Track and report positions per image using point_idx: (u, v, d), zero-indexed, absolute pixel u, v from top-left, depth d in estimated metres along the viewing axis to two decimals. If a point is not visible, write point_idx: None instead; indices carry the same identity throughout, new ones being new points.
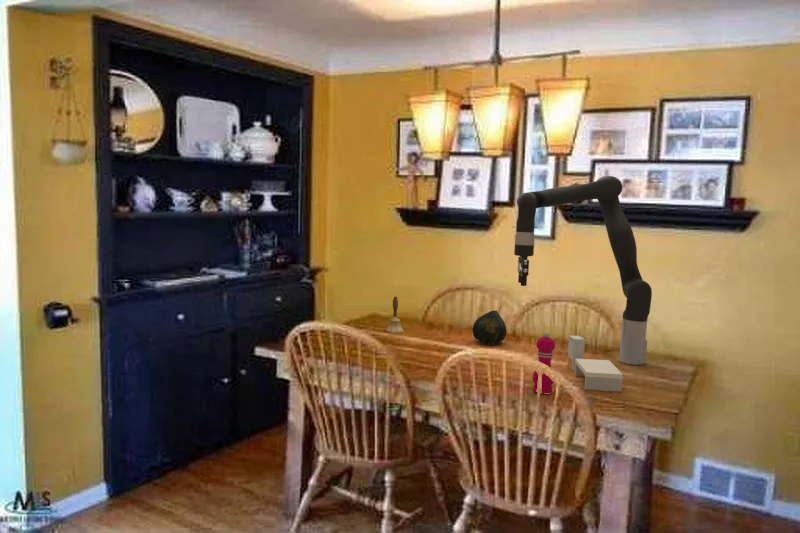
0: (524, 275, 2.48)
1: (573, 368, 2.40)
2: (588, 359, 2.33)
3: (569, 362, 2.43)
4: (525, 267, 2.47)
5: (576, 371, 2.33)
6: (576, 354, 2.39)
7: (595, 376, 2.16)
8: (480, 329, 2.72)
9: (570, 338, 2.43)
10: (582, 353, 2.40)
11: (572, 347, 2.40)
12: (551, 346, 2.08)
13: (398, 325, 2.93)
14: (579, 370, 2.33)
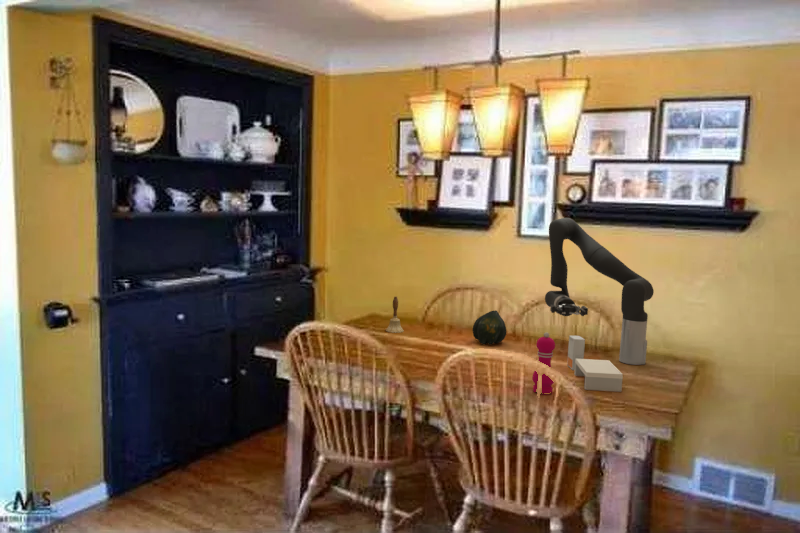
0: (554, 310, 2.57)
1: (573, 368, 2.40)
2: (588, 359, 2.33)
3: (569, 362, 2.43)
4: (551, 308, 2.60)
5: (576, 371, 2.33)
6: (576, 354, 2.39)
7: (595, 376, 2.16)
8: (480, 329, 2.72)
9: (570, 338, 2.43)
10: (582, 353, 2.40)
11: (572, 347, 2.40)
12: (551, 346, 2.08)
13: (398, 325, 2.93)
14: (579, 370, 2.33)
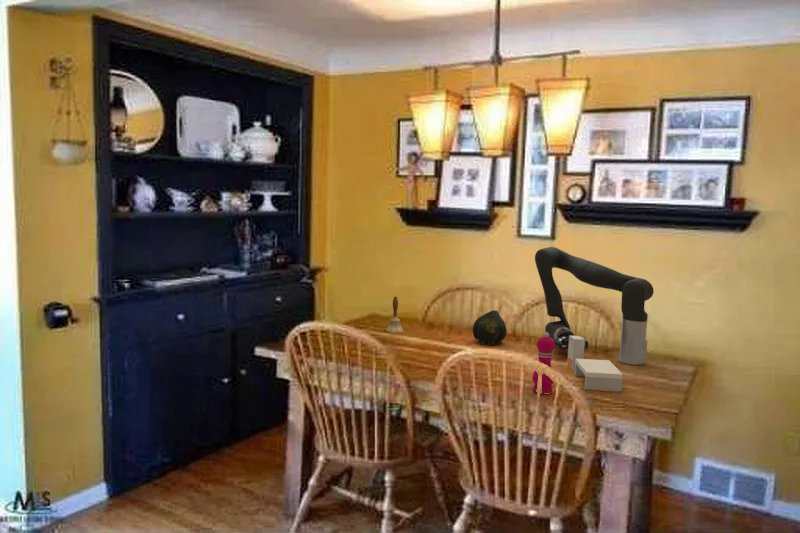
0: None
1: (573, 368, 2.40)
2: (588, 359, 2.33)
3: (569, 362, 2.43)
4: None
5: (576, 371, 2.33)
6: (576, 354, 2.39)
7: (595, 376, 2.16)
8: (480, 329, 2.72)
9: (570, 338, 2.43)
10: (582, 353, 2.40)
11: (572, 347, 2.40)
12: (551, 346, 2.08)
13: (398, 325, 2.93)
14: (579, 370, 2.33)
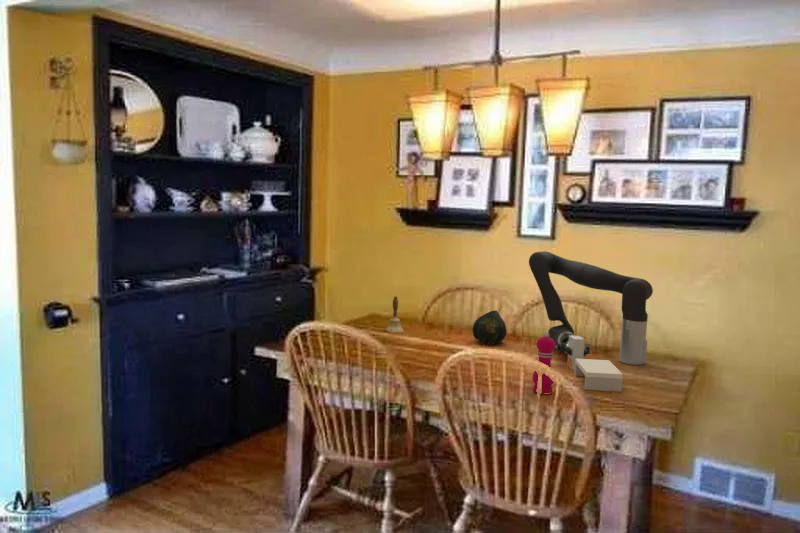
0: (562, 349, 2.44)
1: (573, 368, 2.40)
2: (588, 359, 2.33)
3: (569, 362, 2.43)
4: (557, 347, 2.47)
5: (576, 371, 2.33)
6: (576, 354, 2.39)
7: (595, 376, 2.16)
8: (480, 329, 2.72)
9: (570, 338, 2.43)
10: (582, 353, 2.40)
11: (572, 347, 2.40)
12: (551, 346, 2.08)
13: (398, 325, 2.93)
14: (579, 370, 2.33)
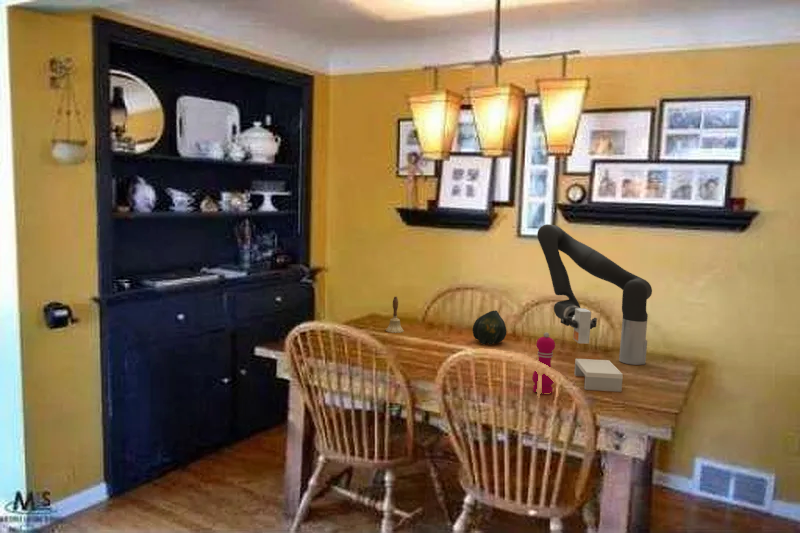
0: (568, 323, 2.39)
1: (579, 341, 2.35)
2: (588, 359, 2.33)
3: (575, 335, 2.38)
4: (563, 320, 2.42)
5: (576, 371, 2.33)
6: (582, 327, 2.34)
7: (595, 376, 2.16)
8: (480, 329, 2.72)
9: (576, 311, 2.38)
10: (588, 326, 2.34)
11: (578, 319, 2.35)
12: (551, 346, 2.08)
13: (398, 325, 2.93)
14: (579, 370, 2.33)
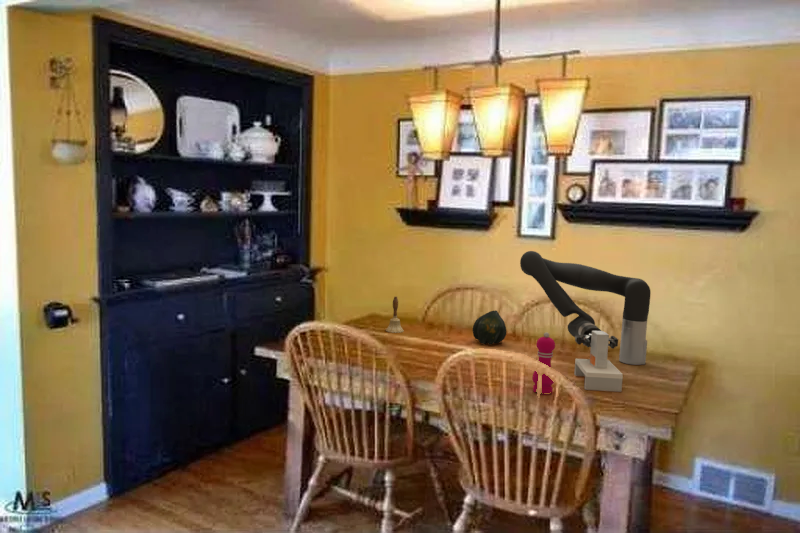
0: (580, 341, 2.26)
1: (596, 366, 2.22)
2: (588, 359, 2.33)
3: (592, 359, 2.25)
4: (576, 339, 2.29)
5: (576, 371, 2.33)
6: (599, 350, 2.21)
7: (595, 376, 2.16)
8: (480, 329, 2.72)
9: (593, 333, 2.24)
10: (606, 350, 2.21)
11: (595, 343, 2.22)
12: (551, 346, 2.08)
13: (398, 325, 2.93)
14: (579, 370, 2.33)
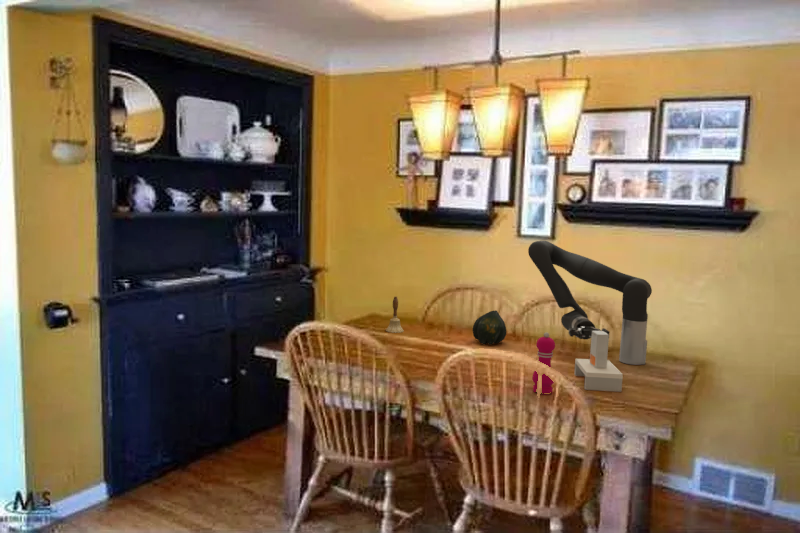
0: (573, 333, 2.39)
1: (596, 366, 2.22)
2: (588, 359, 2.33)
3: (592, 359, 2.25)
4: (569, 331, 2.42)
5: (576, 371, 2.33)
6: (599, 350, 2.21)
7: (595, 376, 2.16)
8: (480, 329, 2.72)
9: (593, 333, 2.24)
10: (606, 350, 2.21)
11: (595, 343, 2.22)
12: (551, 346, 2.08)
13: (398, 325, 2.93)
14: (579, 370, 2.33)
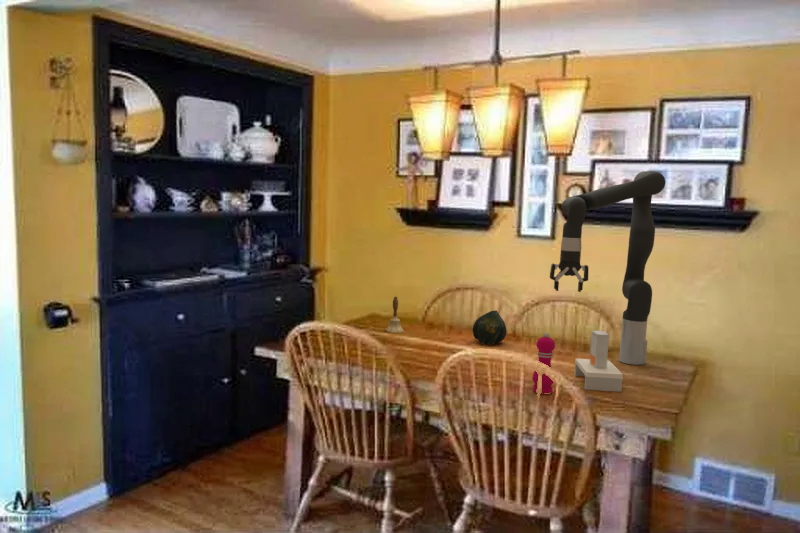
0: None
1: (596, 366, 2.22)
2: (588, 359, 2.33)
3: (592, 359, 2.25)
4: None
5: (576, 371, 2.33)
6: (599, 350, 2.21)
7: (595, 376, 2.16)
8: (480, 329, 2.72)
9: (593, 333, 2.24)
10: (606, 350, 2.21)
11: (595, 343, 2.22)
12: (551, 346, 2.08)
13: (398, 325, 2.93)
14: (579, 370, 2.33)
